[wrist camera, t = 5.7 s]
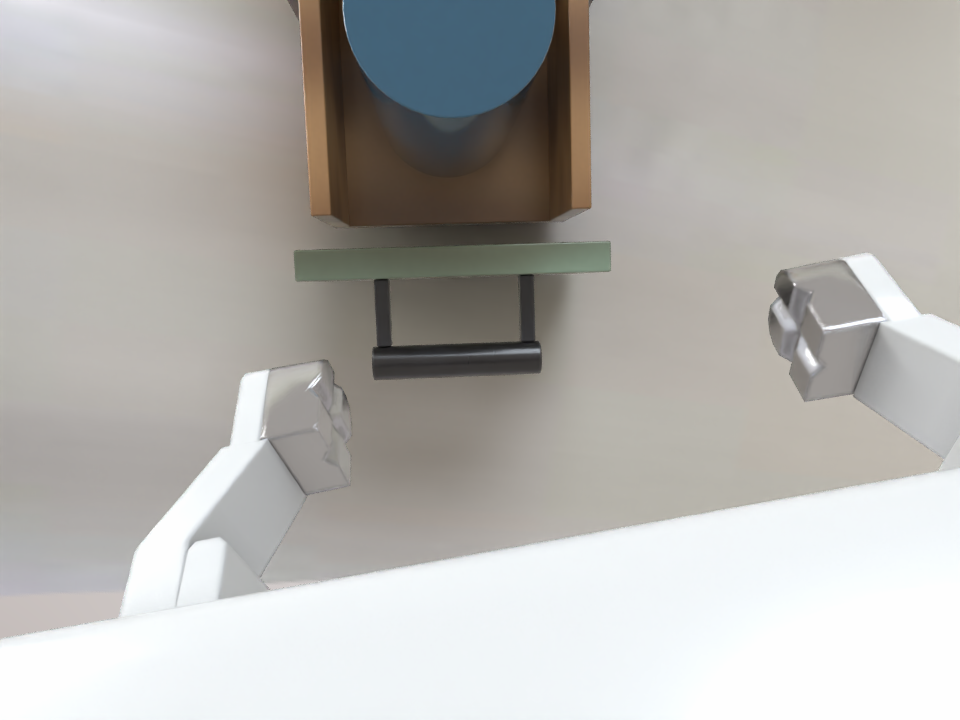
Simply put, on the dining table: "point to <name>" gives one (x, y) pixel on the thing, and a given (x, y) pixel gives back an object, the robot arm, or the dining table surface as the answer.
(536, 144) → the drawer
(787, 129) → the dining table surface
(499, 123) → the blue cylinder
